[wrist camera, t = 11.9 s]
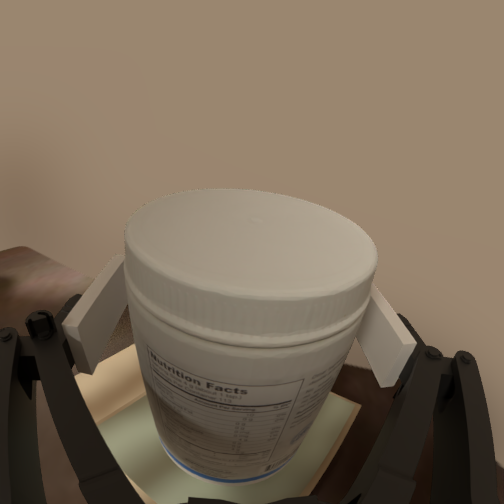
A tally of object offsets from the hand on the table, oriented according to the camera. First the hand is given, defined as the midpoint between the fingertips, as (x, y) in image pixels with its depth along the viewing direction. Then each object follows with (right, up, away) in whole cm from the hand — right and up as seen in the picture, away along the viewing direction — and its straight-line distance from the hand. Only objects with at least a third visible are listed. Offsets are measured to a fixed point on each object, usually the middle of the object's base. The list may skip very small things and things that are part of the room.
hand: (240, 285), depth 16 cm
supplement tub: (-1, -10, +1) cm, 10 cm away
